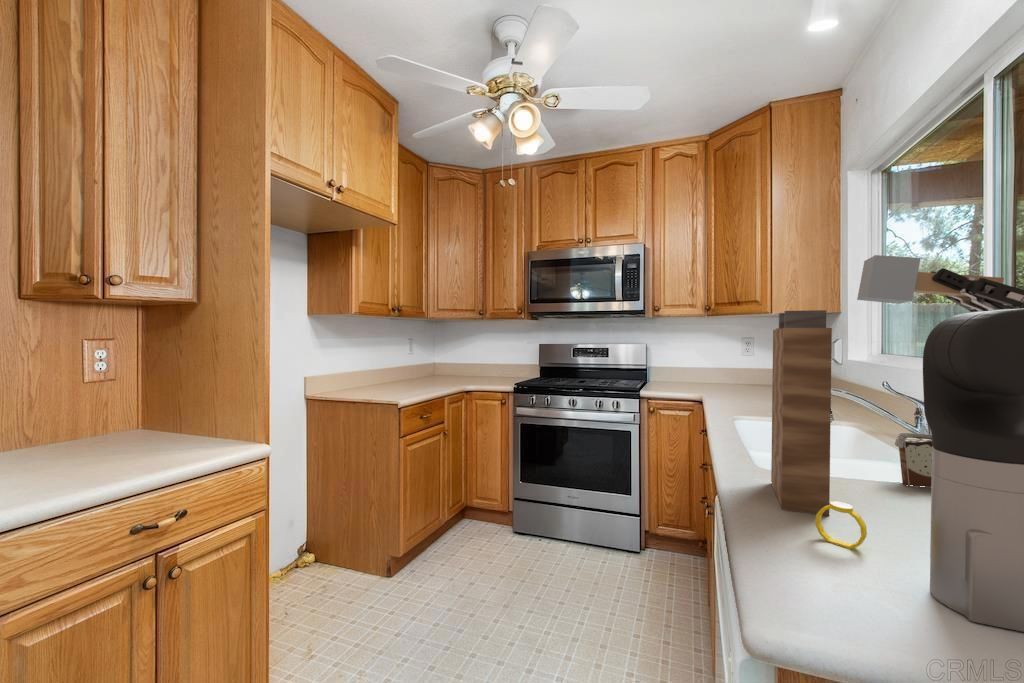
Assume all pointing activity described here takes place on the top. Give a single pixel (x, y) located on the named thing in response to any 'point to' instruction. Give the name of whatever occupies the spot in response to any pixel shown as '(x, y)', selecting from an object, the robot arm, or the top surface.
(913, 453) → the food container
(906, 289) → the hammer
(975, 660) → the top surface
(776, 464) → the stand
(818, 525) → the watch
